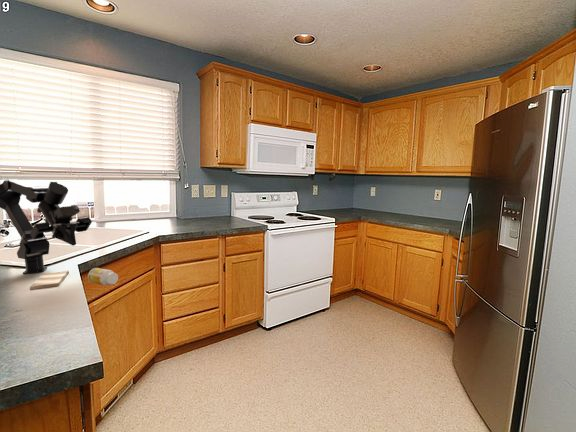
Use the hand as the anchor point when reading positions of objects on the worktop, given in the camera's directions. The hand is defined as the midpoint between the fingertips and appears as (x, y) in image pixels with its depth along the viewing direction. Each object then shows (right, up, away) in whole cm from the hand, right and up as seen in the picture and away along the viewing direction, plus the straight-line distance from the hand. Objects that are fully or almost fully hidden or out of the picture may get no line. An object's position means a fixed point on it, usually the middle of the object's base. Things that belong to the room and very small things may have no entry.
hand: (74, 244), depth 113 cm
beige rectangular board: (-10, -13, +1) cm, 17 cm away
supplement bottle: (+8, -11, -1) cm, 14 cm away
